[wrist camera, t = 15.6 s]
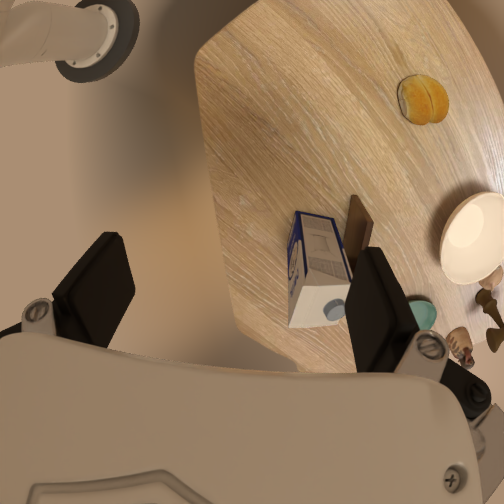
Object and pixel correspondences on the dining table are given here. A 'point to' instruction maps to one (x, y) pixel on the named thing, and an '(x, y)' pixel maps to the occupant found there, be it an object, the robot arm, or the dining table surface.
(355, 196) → the shelf
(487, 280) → the garlic bulb
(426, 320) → the saucer
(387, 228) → the dining table surface
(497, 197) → the bowl
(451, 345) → the figurine
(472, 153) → the dining table surface
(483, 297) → the kendama
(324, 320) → the milk carton
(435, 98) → the bread roll
